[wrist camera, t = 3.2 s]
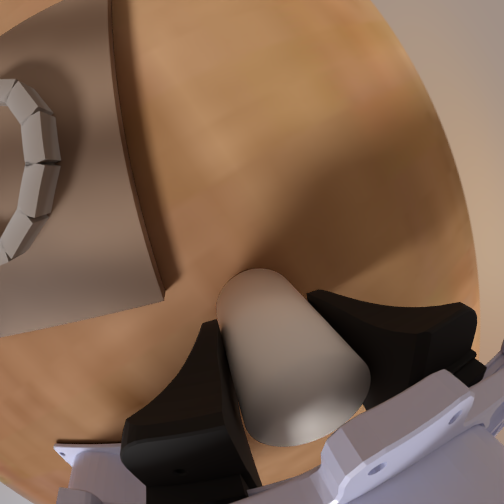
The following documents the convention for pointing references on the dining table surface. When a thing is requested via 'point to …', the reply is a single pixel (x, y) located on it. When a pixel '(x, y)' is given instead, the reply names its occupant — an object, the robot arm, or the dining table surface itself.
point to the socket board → (67, 176)
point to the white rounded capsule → (286, 361)
